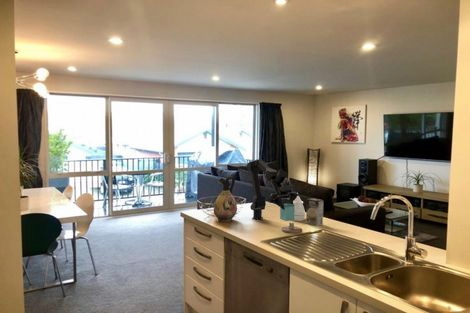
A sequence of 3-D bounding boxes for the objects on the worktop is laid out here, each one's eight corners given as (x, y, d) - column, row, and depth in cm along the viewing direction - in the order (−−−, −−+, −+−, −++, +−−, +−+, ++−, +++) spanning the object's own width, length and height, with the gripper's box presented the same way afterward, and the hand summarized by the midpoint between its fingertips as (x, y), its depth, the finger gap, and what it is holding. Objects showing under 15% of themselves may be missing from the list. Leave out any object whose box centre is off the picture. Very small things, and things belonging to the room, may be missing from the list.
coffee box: (305, 223, 224) (306, 198, 223) (311, 221, 228) (311, 197, 227) (317, 226, 217) (318, 200, 216) (323, 224, 221) (323, 199, 220)
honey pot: (304, 221, 230) (305, 194, 229) (285, 220, 232) (285, 193, 231) (304, 216, 242) (305, 191, 241) (286, 215, 245) (286, 190, 244)
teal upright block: (280, 218, 206) (280, 203, 205) (288, 217, 209) (288, 203, 208) (285, 221, 200) (286, 205, 200) (294, 220, 203) (294, 205, 203)
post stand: (282, 227, 213) (282, 220, 213) (302, 228, 211) (302, 221, 210) (280, 232, 202) (280, 224, 202) (301, 234, 199) (301, 226, 199)
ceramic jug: (221, 224, 218) (221, 177, 217) (209, 219, 231) (209, 175, 229) (243, 221, 228) (244, 176, 226) (230, 216, 241) (231, 173, 239)
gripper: (270, 180, 202) (281, 202, 193) (296, 178, 211) (307, 199, 202) (263, 191, 210) (273, 213, 201) (288, 189, 218) (299, 210, 209)
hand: (288, 208), depth 203 cm, fingers closed on teal upright block, 6 cm apart
